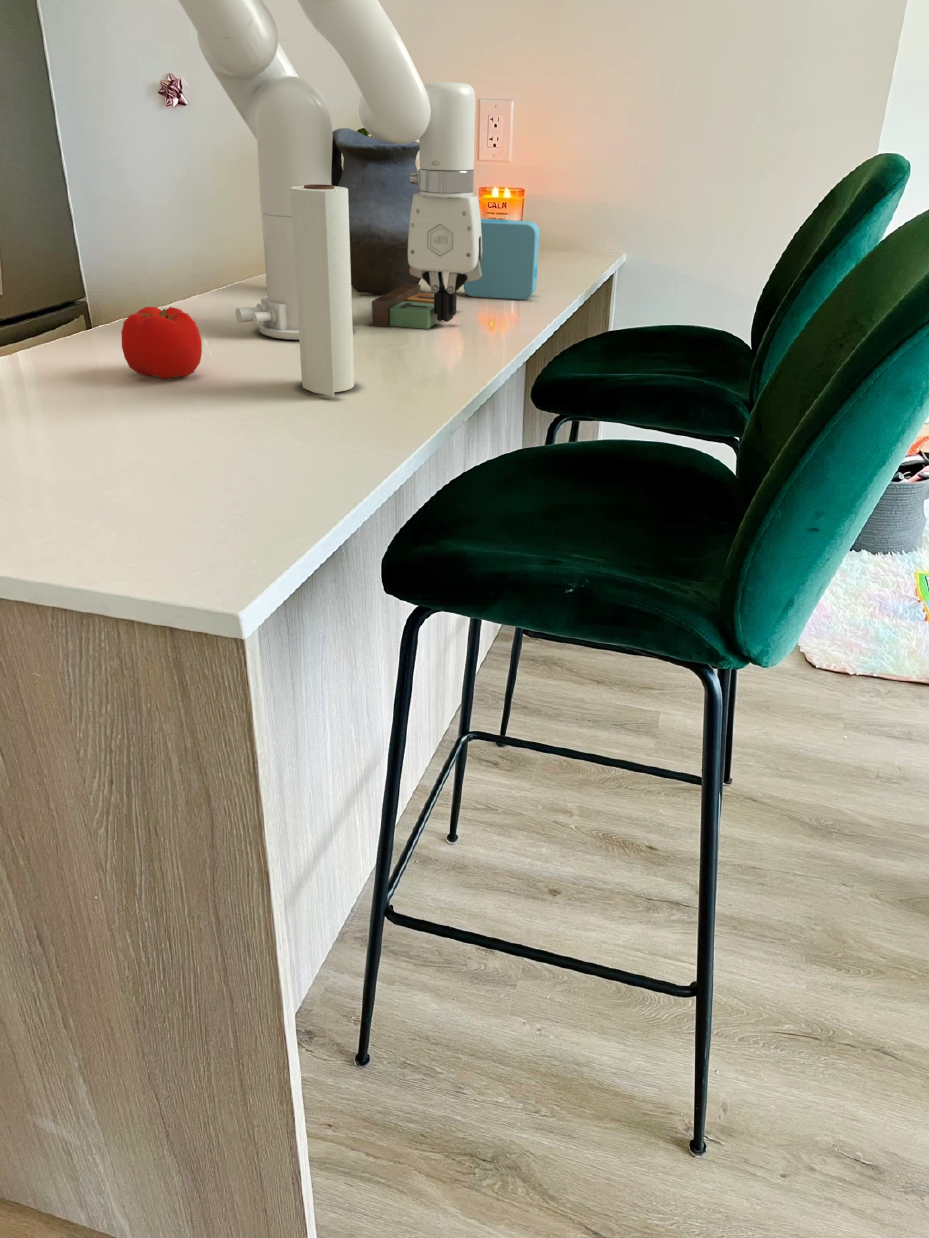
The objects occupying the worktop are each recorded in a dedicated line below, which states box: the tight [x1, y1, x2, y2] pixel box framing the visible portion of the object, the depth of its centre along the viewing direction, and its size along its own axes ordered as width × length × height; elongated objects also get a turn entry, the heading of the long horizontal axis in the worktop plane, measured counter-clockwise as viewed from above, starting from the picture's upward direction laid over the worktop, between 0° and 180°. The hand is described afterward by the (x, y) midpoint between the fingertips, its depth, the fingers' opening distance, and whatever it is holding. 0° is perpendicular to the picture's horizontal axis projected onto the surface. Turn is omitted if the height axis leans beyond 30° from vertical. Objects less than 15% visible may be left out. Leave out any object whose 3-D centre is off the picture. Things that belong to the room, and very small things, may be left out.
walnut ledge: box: [371, 283, 422, 327], centre depth 146 cm, size 16×2×4 cm, turn 165°
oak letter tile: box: [407, 292, 434, 304], centre depth 148 cm, size 6×6×3 cm
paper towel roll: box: [290, 184, 355, 398], centre depth 104 cm, size 7×6×21 cm
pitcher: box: [331, 127, 422, 296], centre depth 159 cm, size 21×22×25 cm
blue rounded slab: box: [463, 218, 541, 301], centre depth 160 cm, size 12×4×12 cm, turn 78°
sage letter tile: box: [389, 301, 440, 330], centre depth 141 cm, size 6×6×3 cm
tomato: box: [120, 306, 203, 380], centre depth 111 cm, size 9×9×8 cm
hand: (445, 319), depth 140 cm, fingers closed
